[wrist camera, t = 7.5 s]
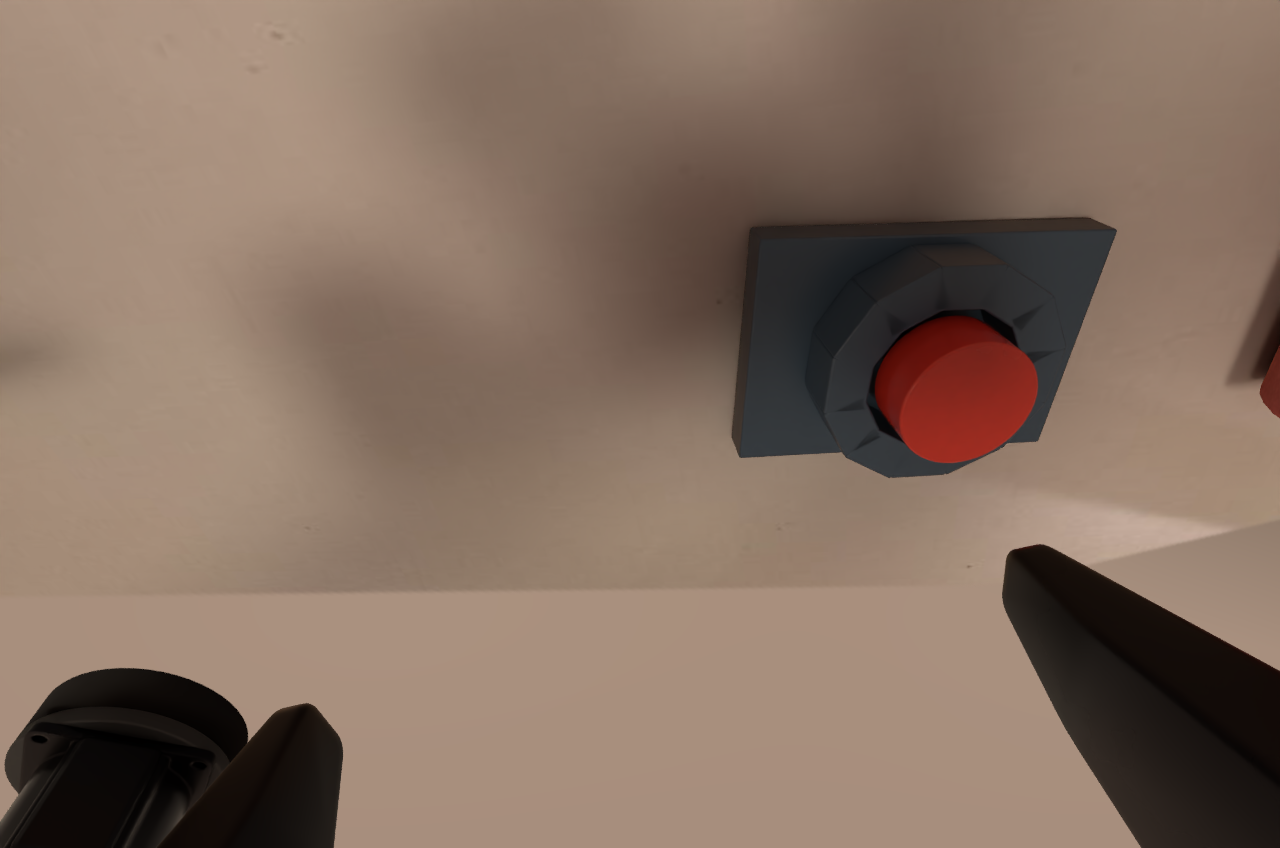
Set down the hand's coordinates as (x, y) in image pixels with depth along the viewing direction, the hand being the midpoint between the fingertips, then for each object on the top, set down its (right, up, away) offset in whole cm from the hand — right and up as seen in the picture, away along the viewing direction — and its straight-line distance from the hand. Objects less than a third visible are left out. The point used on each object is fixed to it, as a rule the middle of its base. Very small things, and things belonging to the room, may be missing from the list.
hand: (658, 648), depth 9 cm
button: (+8, +4, +10) cm, 14 cm away
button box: (+8, +6, +12) cm, 16 cm away
